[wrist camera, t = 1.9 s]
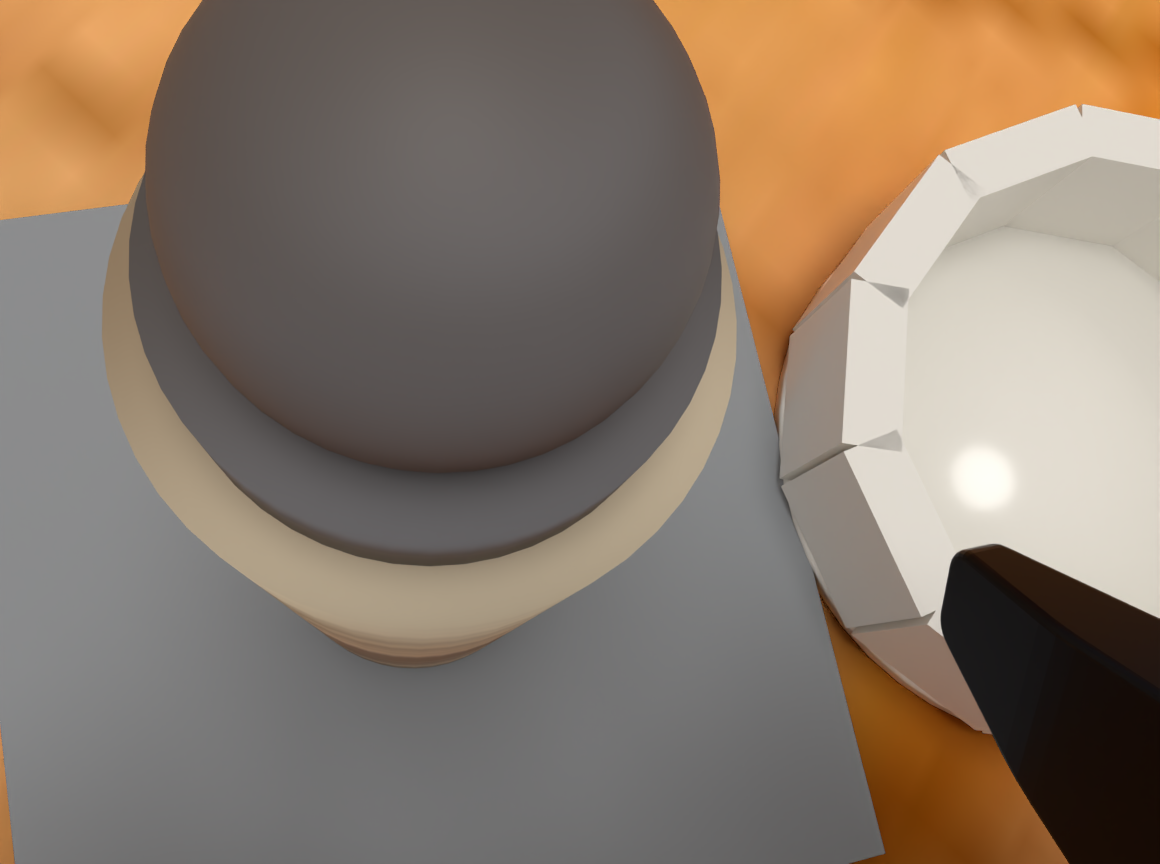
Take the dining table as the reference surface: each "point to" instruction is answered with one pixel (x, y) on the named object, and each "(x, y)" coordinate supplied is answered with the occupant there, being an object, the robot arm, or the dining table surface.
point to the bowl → (984, 386)
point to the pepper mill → (423, 304)
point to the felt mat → (384, 693)
